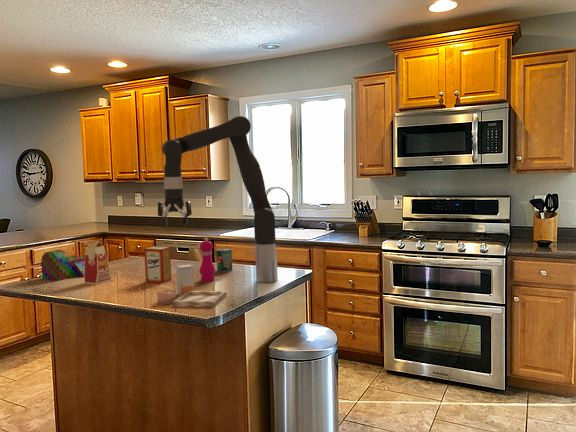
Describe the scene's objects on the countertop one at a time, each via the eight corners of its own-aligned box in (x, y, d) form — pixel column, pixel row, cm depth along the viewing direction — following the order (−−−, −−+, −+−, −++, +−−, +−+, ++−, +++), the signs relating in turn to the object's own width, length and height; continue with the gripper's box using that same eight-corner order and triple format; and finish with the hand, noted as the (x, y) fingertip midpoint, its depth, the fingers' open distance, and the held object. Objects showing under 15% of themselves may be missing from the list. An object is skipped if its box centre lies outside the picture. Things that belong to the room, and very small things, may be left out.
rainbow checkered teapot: (68, 281, 233) (66, 252, 231) (42, 279, 239) (40, 251, 238) (106, 271, 256) (104, 244, 254) (81, 269, 262) (80, 243, 261)
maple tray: (226, 296, 195) (226, 291, 195) (213, 307, 179) (213, 302, 179) (188, 295, 198) (188, 290, 198) (172, 306, 182) (172, 301, 182)
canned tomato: (235, 269, 250) (234, 248, 249) (225, 272, 244) (224, 250, 243) (223, 268, 255) (222, 247, 254) (213, 271, 248) (212, 249, 247)
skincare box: (180, 296, 197) (178, 267, 196) (177, 294, 201) (175, 265, 200) (194, 294, 200) (193, 265, 199) (191, 292, 204) (190, 264, 202)
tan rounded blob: (179, 300, 192) (178, 290, 191) (171, 304, 185) (171, 294, 185) (162, 299, 193) (161, 289, 193) (154, 304, 186) (154, 294, 186)
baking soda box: (171, 280, 229) (169, 246, 228) (163, 283, 223) (161, 248, 222) (154, 279, 233) (152, 245, 231) (146, 282, 226) (144, 247, 225)
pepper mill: (212, 282, 222) (210, 238, 221) (197, 281, 224) (195, 238, 222) (217, 278, 230) (216, 236, 228) (203, 278, 231) (201, 236, 229)
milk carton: (111, 280, 231) (109, 239, 229) (96, 285, 223) (94, 241, 221) (97, 279, 235) (95, 238, 233) (82, 283, 227) (79, 241, 225)
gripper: (192, 187, 207) (194, 225, 209) (161, 187, 210) (163, 225, 211) (186, 187, 200) (187, 227, 201) (153, 188, 203) (155, 227, 204)
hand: (175, 226), depth 206 cm, fingers open, 8 cm apart
